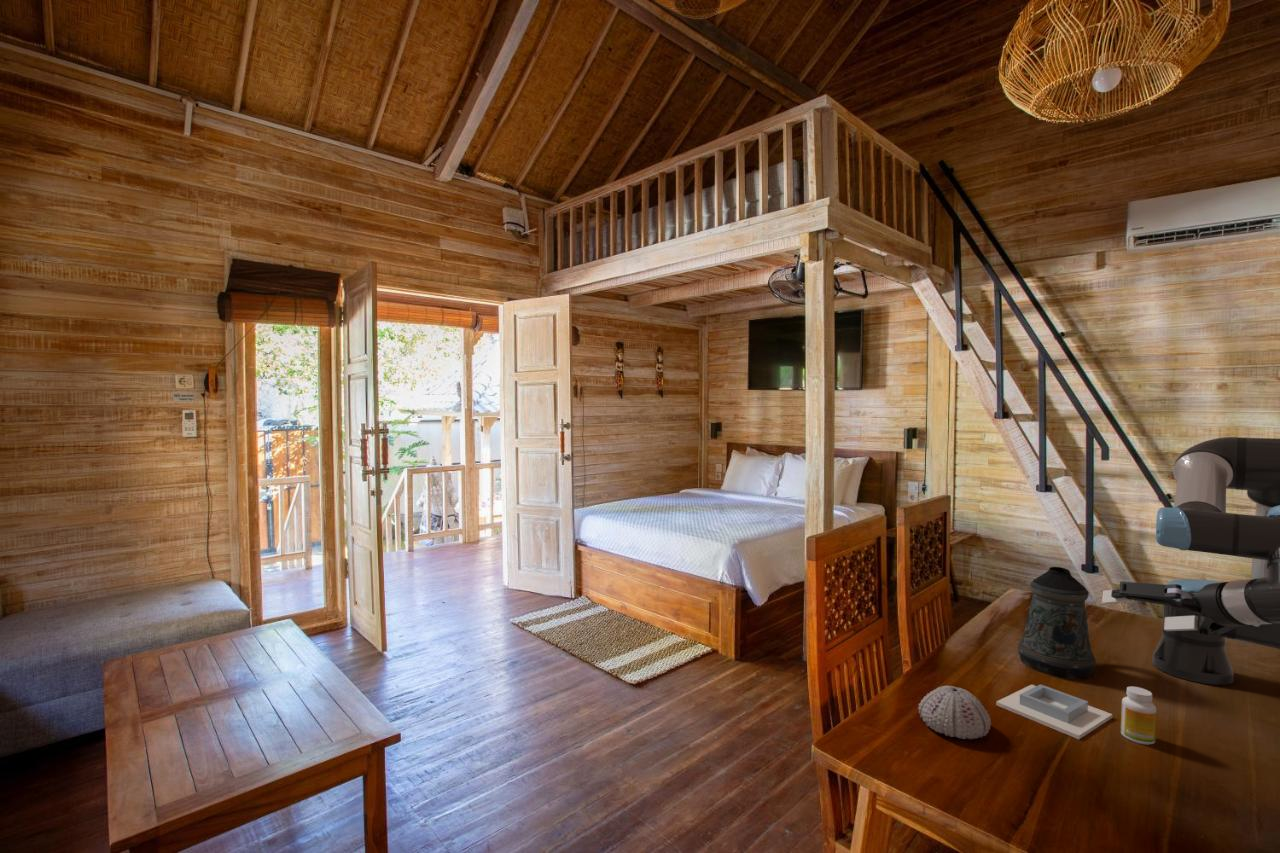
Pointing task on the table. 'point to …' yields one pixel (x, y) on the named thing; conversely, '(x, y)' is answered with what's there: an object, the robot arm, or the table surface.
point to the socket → (1055, 710)
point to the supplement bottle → (1138, 716)
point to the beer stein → (1058, 627)
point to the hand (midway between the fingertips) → (1134, 610)
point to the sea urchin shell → (955, 713)
